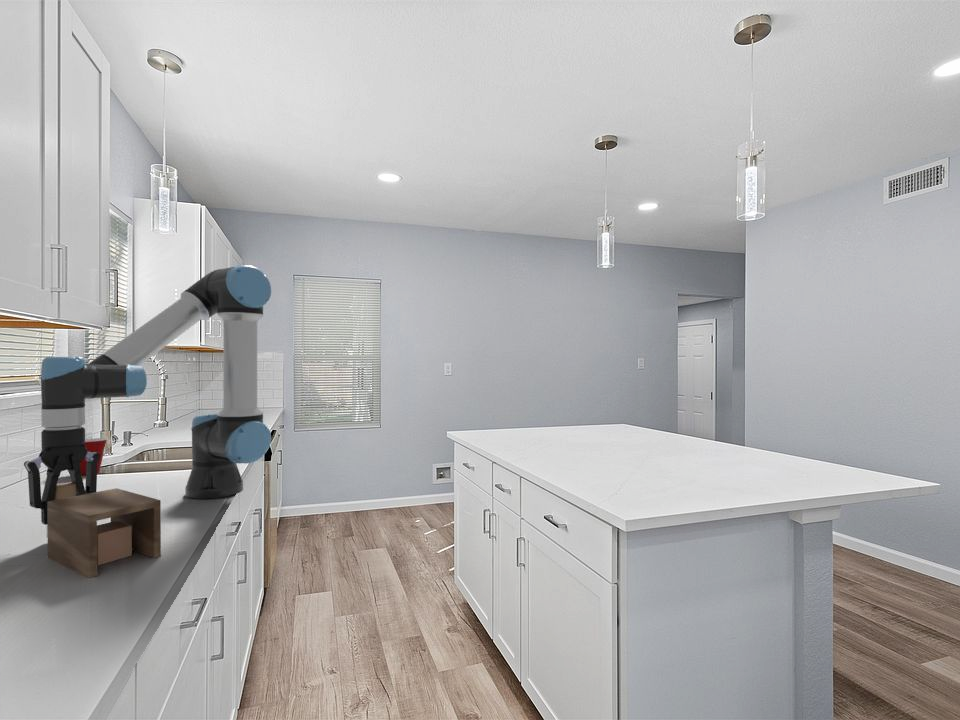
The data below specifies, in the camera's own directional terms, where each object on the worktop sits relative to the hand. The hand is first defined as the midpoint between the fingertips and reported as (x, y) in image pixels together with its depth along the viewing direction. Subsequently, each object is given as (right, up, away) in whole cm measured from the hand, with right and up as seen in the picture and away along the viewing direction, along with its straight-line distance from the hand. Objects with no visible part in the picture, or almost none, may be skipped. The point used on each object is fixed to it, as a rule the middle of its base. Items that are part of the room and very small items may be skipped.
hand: (64, 534), depth 117 cm
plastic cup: (-42, -1, +65) cm, 78 cm away
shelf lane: (+16, -1, -10) cm, 18 cm away
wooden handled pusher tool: (+9, -1, -5) cm, 10 cm away
